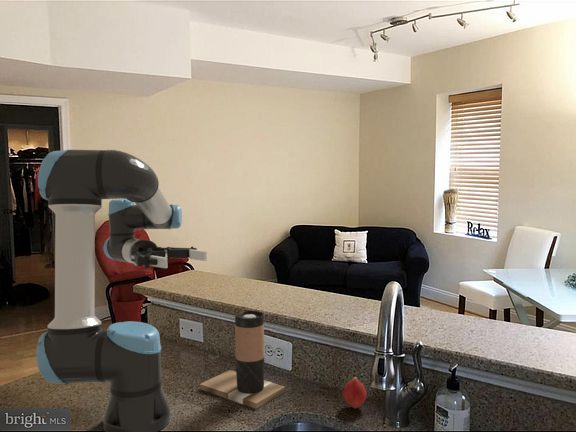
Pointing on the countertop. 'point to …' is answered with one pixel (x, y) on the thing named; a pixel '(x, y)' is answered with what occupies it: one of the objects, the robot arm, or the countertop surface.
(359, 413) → the countertop surface
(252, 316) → the travel mug
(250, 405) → the wooden cutting board
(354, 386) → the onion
